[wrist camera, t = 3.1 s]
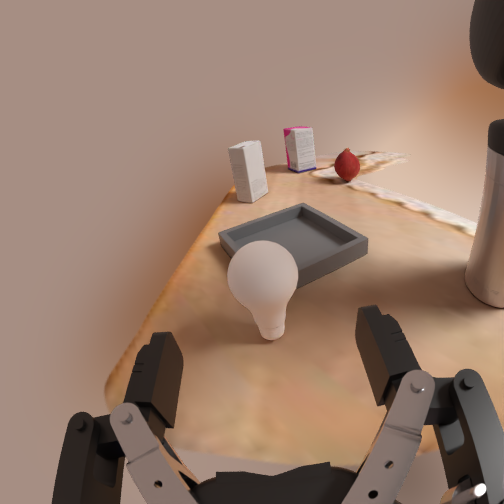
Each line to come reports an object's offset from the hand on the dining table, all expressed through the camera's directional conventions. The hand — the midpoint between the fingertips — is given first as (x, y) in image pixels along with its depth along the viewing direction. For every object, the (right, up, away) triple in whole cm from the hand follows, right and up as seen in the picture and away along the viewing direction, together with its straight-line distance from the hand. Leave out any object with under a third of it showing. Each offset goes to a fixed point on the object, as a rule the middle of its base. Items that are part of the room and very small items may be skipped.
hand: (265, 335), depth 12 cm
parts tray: (+5, +4, +31) cm, 31 cm away
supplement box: (+13, +26, +63) cm, 70 cm away
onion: (+22, +20, +51) cm, 59 cm away
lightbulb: (+2, -5, +18) cm, 18 cm away
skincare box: (0, +15, +51) cm, 53 cm away
